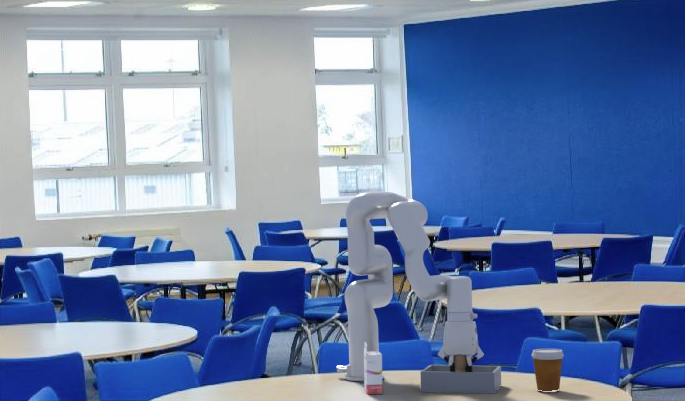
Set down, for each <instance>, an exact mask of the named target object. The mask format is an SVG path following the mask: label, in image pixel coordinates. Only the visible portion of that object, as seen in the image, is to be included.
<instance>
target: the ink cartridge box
mask: <svg viewBox="0 0 685 401" xmlns="http://www.w3.org/2000/svg"><path fill="white" fill-rule="evenodd" d="M365 348H366V349H365ZM382 374H383V354H382V352H380V351H373V352H367V344H366V343H364V381H363V384H364V385H363V386H364V387H363V388H364V391H365V393H366V394H367V395H381V394H382V395H383V391H384V390H383V388H384V387H383V379H382Z"/></svg>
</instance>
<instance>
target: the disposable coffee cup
mask: <svg viewBox="0 0 685 401" xmlns="http://www.w3.org/2000/svg"><path fill="white" fill-rule="evenodd" d="M530 356H531V357H532V360H533V368H534V375H535V382H536V388H537V389H538V390H542V391H552V390H558V389H559V390H560V386H561V385H560V384H561V376H562V367H563V365H562V363H563V358H564V356H565V354H564V352H563V350H562V349H561V348H560V349H558V348H536V349H532V353H531V355H530ZM538 390H537V391H538Z"/></svg>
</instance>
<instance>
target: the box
mask: <svg viewBox="0 0 685 401" xmlns="http://www.w3.org/2000/svg"><path fill="white" fill-rule="evenodd" d="M500 385H501V386H502V366H501V365H472V372H450V365H449V364H447V365H446V364H428V366H426V367H425V368H424V369H422V370H420V393H452V392H453V393H455V394H457V393H458V394H461V393H464V394H496V392H497V391H498V390H499V389H500V388H501V387H500ZM499 387H500V388H499ZM498 388H499V389H498ZM497 389H498V390H497ZM496 390H497V391H496Z"/></svg>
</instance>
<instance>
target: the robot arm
mask: <svg viewBox="0 0 685 401" xmlns="http://www.w3.org/2000/svg"><path fill="white" fill-rule="evenodd" d="M345 209H346V210H345V221H346V222H345V223H346V229H347V231H346V232H347V257H348V258H347V263H348V268H349V271H350V273H351V274H353V275H355V276H362V277H363V276H367V278H366V279H365V278H364V279H358V280H354V281H352V282H351V283H350V284H349V285H347V287H346V288H345V291H344V303H345V306H346V312H347V324H348V326H347V327H348V328H347V329H348V359H349V360H348V361H349V363H348V364H347V365H337V366H336V372H338V373H346V374H345V375H344V380H346V381H350V382H351V381H352V382H364V343H366V344H367V352H373V351H379V347H380V346H379V324H378V323H379V322H378V317H377V315H376V312H375V309H380V308H383V307H386V306H387V305H389V304H390V302H391V301H392V299H393V294H394V282H393V281H394V276H393V274H394V272H393V258H392V255H391V253H390V252H389V250H388V248H386V247H385V246H383V245H381V244H375V232H374V228H373V226H372V224H371V222H370V220H376V219H378V220H380V219H387V220H388V222H389V224H390V226H391V228H392V230H393V231H394V234H395V235H396V238H397V239H398V241H399V243H400V245H401V248H402V250H403V251H404V254H405V257H404V267H405V268H404V270H405V275H406V278H407V281H408V283H409V284H410V286H411V289H412V290H413V292H414V294H415V295H416V296H417V297H418V298H419V299H420V300H422V301H423V302H433V301H442V300H446V307H447V308H446V311H447V312H446V313H447V314H446V315H447V316H446V317H447V318H446V319H447V320H446V321H445V322H444V323H445V324H444V329H443V343H442V346H441V348H440V349H439V351H438V353H437V356H438V357H440V358H441V359H442V360H444V361H445V362H446V363H447V365H450V372H455V369H454V355H458V354H461V355H464V356H466V357H467V362H468V364H467V366H466V372H472V366H473V365H474V363H476V362H477V361H478V360H479V359H481V358H483V356H484V355H485V354H484V352H483V351H482V348H480V346H479V339H478V330H477V324H476V321H473V320H474V319H478V313H474V311H473V287H472V282H473V281H472V279H471V277H469V276H465V275H461V276H460V275H456V276H453V275H449V274H448V275H447V274H437V275H430V274H429V272H428V269H427V268H426V266H425V262H424V253H425V251H426V250H427V249H428V248H429V247H430V244H431V241H430V238H429V237H428V234H427V233H426V231H425V229H424V227H423V226H424V225H425V224H427V221H428V215H429V214H428V210H427V208H426V206H425V205H424V204H423V203H422V202H420V201H418V200H415V199H412V198H409V197H407V196H403V195H401V194H397V193H394V192H390V191H379V192H378V191H371V192H368V191H367V192H362V193H360V194H357V195H355V196H353V197H352V198H351V199H350V201H349V202H348V204H347V206H346V208H345ZM365 349H366V348H365ZM379 352H380V351H379ZM476 354H477V355H476ZM474 355H475V356H474ZM473 356H474V357H473ZM384 378H385V374H384V373H382V380H384Z"/></svg>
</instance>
